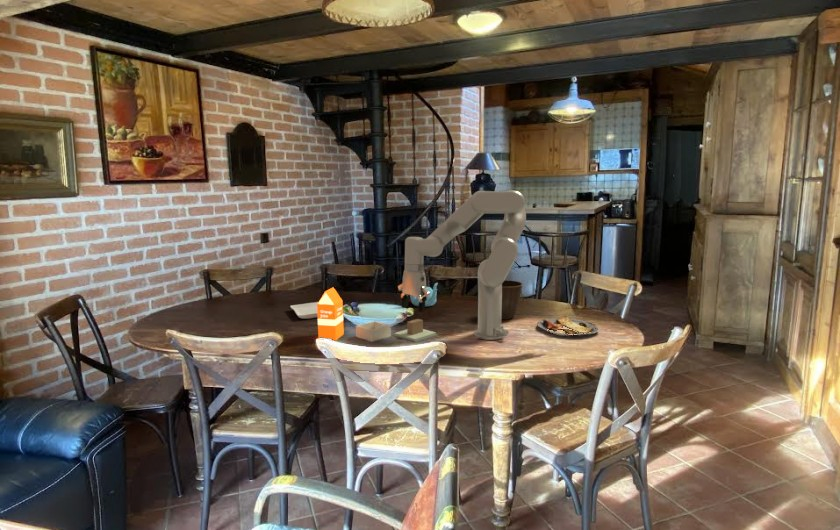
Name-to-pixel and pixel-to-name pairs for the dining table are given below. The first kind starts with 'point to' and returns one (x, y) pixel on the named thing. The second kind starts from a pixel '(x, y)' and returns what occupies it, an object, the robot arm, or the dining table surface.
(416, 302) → the teapot
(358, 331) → the open tan box
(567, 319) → the food plate
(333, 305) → the orange juice
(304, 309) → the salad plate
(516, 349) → the dining table surface
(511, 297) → the plant pot
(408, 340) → the mat
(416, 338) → the lid
